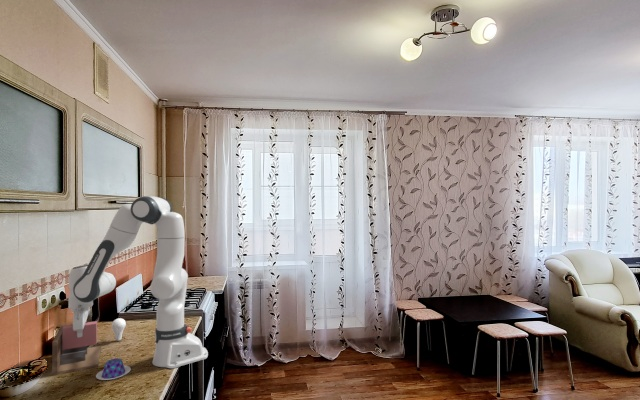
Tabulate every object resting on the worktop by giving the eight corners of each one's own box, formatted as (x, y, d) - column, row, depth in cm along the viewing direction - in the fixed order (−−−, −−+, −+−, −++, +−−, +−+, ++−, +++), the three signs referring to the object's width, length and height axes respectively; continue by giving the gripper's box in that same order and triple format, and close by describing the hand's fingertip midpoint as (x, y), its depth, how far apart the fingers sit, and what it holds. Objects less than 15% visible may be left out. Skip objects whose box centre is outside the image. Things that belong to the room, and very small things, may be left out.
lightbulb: (109, 343, 170) (109, 321, 170) (113, 339, 176) (113, 317, 176) (123, 342, 171) (123, 319, 172) (127, 338, 177) (127, 316, 177)
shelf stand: (101, 348, 165) (101, 320, 165) (98, 366, 146) (98, 335, 146) (59, 355, 157) (59, 326, 157) (50, 376, 138) (50, 342, 138)
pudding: (94, 384, 132) (94, 370, 132) (97, 371, 142) (97, 358, 142) (130, 377, 137) (130, 363, 137) (131, 364, 148) (131, 352, 148)
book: (96, 341, 157) (97, 321, 157) (96, 344, 153) (96, 323, 153) (63, 346, 151) (64, 325, 151) (62, 349, 147) (62, 328, 147)
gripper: (87, 307, 145) (87, 341, 144) (91, 296, 163) (91, 326, 162) (68, 310, 142) (68, 344, 141) (75, 298, 159) (74, 328, 159)
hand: (80, 334), depth 152 cm, fingers closed on book, 4 cm apart
